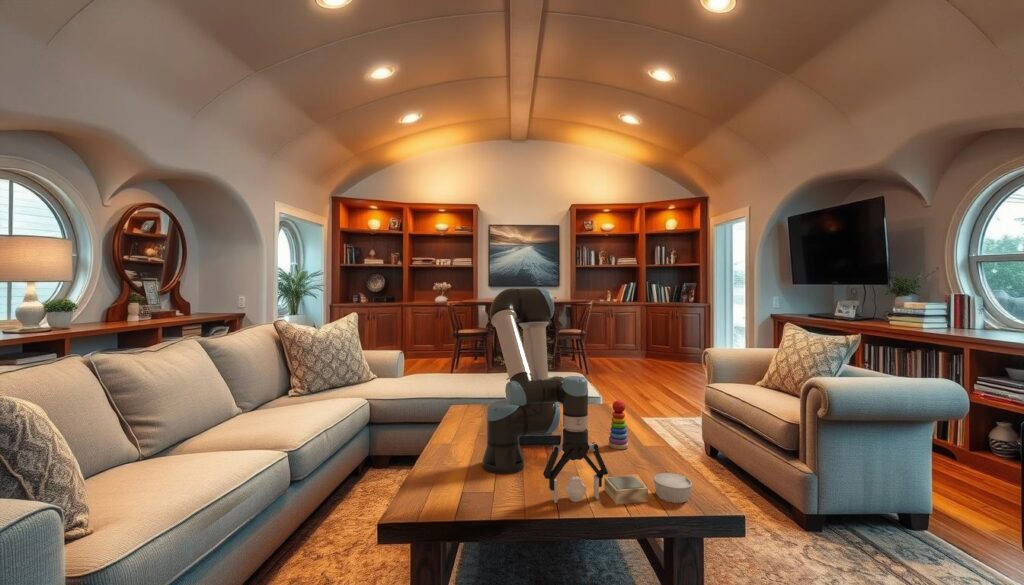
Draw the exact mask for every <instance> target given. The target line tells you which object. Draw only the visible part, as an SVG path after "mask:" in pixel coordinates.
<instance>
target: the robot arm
mask: <svg viewBox="0 0 1024 585" xmlns="http://www.w3.org/2000/svg"><path fill="white" fill-rule="evenodd" d="M554 313H555V302H554V299H553V296H552V294H551V293H550V291H549V290H547V289H545V288H538V287H531V288H529V287H528V288H510V287H509V288H507V289H504V290H501V291H500V292H499V293H498V294H497V295H496V296H495V297H494V299H493V301H492V303H491V306H490V310H489V318H490V323H491V325H492V326H493V327H495V330H496V334H497V337H498V341H499V344H500V349H501V352H502V356H503V360H504V364H505V368H506V372H507V375H508V379H509V381H508V382H507V383H506V385H505V390H504V392H505V399H504V398H503V399H498V400H495V401H493V402H491V403H489V405H488V406H487V408H486V409H487V410H486V411H487V412H486V448H485V451H484V454H483V458H482V461H481V464H482V465H481V466H482V469H483V470H484V471H486V472H488V473H490V474H496V475H508V474H514V473H518V472H520V471H523V470H524V468H525V458H524V456H523V453H522V449H521V446H520V437H526V436H533V435H546V434H552V433H554V432H555V431H556V430H557V429H558V428H559V424H560V420H561V408H560V405H559V403H561V404H562V427H563V430H562V444H561V445H557V444H553V445H552V452H551V454H550V456H549V459H548V461H547V463H546V465H545V468H544V470H543V473H542V474H543V477H544V478H545V479H546V480H549V482H548V483H549V485H548V486H549V489H550V491H551V492H552V501H553V503H558V480H557V477H558V475H559V474H560V472H561V471H562V470H563V468H564V467H565V465H566V464H567V463H568V462H570V460H571V461H576V460H577V461H578V460H579V461H582V460H584V461H586V463H587V464H588V465H589V467H591V469H592V470H593V471H594V474H593V497H594V498H595V499H596V500H600V488H602V486H603V479H604V476H605V475H606V476H607V475H608V473H609V471H608V469H607V467H606V464H605V462H604V460H603V459H602V456H601V454H600V451H599V444H597V443H596V442H595V441H594V442H592V443H589V430H588V428H589V416H588V415H589V409H588V408H589V388H588V380H587V378H586V377H584V376H579V375H569V376H565V377H563V376H560V375H559V376H558V375H555V376H554V375H553V376H552V377H550V378H549V370H548V369H549V367H548V350H547V349H548V347H547V332H546V331H547V329H546V327H547V326H548V325H549V324H550V319H552V318H553V316H554V315H555V314H554ZM517 320H518V323H517ZM518 326H520V327H521V328H522V332H523V333H522V337H523V338H521V335H520V331H519V328H518ZM522 339H523V341H522ZM590 450H591V452H593V454H594V456H595V459H596V461H597V464H598V466H599V468H600V469H599V468H598V467H597V465H595V463H594V462H593V461H592V459H591V458H590V457H589V455H588V454H587V453H588V451H590ZM561 451H562V452H563V454H562V455H561V458H560V459H559V460H558V462H557V463H556V461H557V459H558V457H559V456H558V455H559V454H560V453H561ZM554 465H555V466H554Z"/></svg>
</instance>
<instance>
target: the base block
mask: <svg viewBox="0 0 1024 585" xmlns="http://www.w3.org/2000/svg"><path fill="white" fill-rule="evenodd" d="M603 479H604V484H603V485H604V487H603V489H604V490H603V491H604V492H605V493H606V494H607V495H608V496H609V497H610V499H611V500H612V501H613V502H614V504H615V505H623V504H634V503H635V504H636V503H639V504H640V503H648V502H649V488H648V487H647V486H646V485H645V484H644V483H643V482H642V481H641V480H640V479H638V478H637V476H635V475H633V474H632V475H619V476H609V477H608V476H605V477H604V476H603Z"/></svg>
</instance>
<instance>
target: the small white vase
mask: <svg viewBox="0 0 1024 585" xmlns="http://www.w3.org/2000/svg"><path fill="white" fill-rule="evenodd" d="M586 490H587V489H586V486H585V484H584V483H583V481H582V478H580V476H572V477H570V479H569V481H568V482H567V484H566V485H565V491H566V492H565V493H566V494H567V496H568V498H569V500H570V501H571V502H575V503H577V502H580V501H582V499H583V497H584V496H585V493H586Z"/></svg>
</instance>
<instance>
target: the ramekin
mask: <svg viewBox="0 0 1024 585" xmlns="http://www.w3.org/2000/svg"><path fill="white" fill-rule="evenodd" d="M653 482H654V488H655V494H656V495H657V497H658V498H659V499H660V500H662V501H664V502H666V501H667V503H670V502H672V504H684V503H686V502H688V500H689V499H690V496H691V492H692V491H691V490H692V487H693V482H692V480H691V479H689V478H688V477H686V476H684V475H681V474H677V473H669V472H662V473H657V474H656V475H654V477H653ZM683 502H684V503H683Z"/></svg>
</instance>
